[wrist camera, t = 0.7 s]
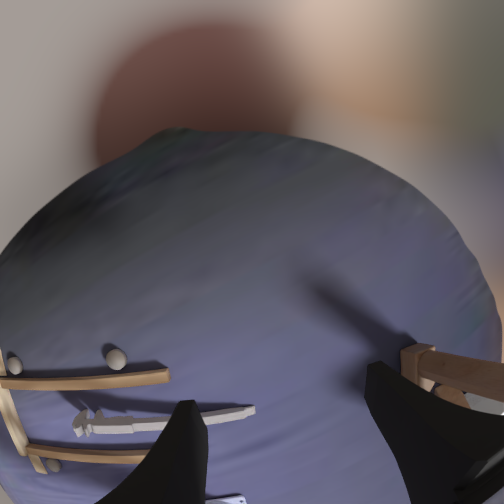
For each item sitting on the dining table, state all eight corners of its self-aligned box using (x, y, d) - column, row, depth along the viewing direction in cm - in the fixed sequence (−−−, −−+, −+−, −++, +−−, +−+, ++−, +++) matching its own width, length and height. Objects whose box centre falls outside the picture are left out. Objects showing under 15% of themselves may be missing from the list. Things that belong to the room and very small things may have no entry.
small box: (450, 400, 32) (496, 416, 22) (471, 389, 33) (515, 401, 22) (444, 440, 31) (484, 460, 21) (464, 427, 32) (504, 443, 21)
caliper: (87, 415, 26) (66, 435, 20) (85, 407, 26) (63, 426, 20) (255, 412, 29) (264, 436, 23) (254, 403, 29) (263, 427, 23)
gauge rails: (204, 478, 26) (204, 489, 24) (37, 471, 22) (30, 478, 20) (159, 329, 28) (154, 332, 26) (-10, 347, 24) (-21, 349, 22)
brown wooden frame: (398, 419, 31) (489, 467, 13) (398, 349, 32) (509, 374, 14) (418, 409, 31) (508, 449, 13) (419, 341, 32) (526, 358, 15)
